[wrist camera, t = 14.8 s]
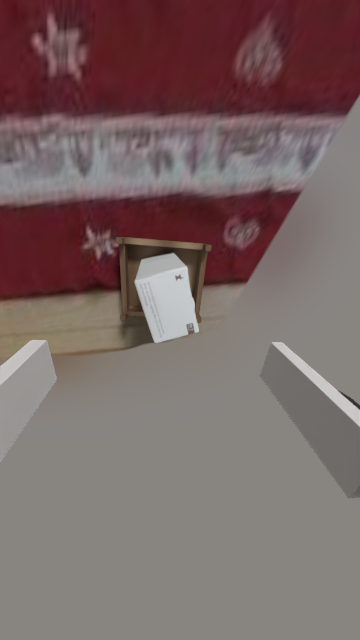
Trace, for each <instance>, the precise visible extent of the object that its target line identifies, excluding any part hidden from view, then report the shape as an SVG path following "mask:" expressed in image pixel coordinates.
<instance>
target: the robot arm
mask: <svg viewBox="0 0 360 640" xmlns="http://www.w3.org/2000/svg"><path fill="white" fill-rule="evenodd" d="M260 377H261V378H262V380H263V381H264V383H265V384H266V385H267V387H268V388H269V389H270V390H271V392H272V394H273V395H274V396H275V398H276V399H277V401H278V402H279V403H280V405H281V406H282V407H283V409H284V410H285V412H286V413H287V414H288V415H289V417H290V419H291V420H292V421H293V422H294V424H295V425H296V427H297V428H298V429H299V431H300V432H301V434H302V435H303V436H304V438H305V439H306V441H307V442H308V443H309V445H310V446H311V448H312V449H313V450H314V452H315V453H316V454H317V456H318V457H319V459H320V460H321V461H322V463H323V464H324V466H325V467H326V468H327V470H328V471H329V472H330V474H331V475H332V477H333V478H334V479H335V481H336V482H337V484H338V485H339V486H340V488H341V489H342V490H343V492H344V493H345V495H346V496H347V497H348V498H357V497H360V405H359V404H357V403H356V402H355V401H354V400H353V399H351V398H350V397H348V396H346V395H345V394H343V393H342V392H340V391H338V390H336V389H335V388H334V387H333V386H332V385H330V384H329V383H328V382H327V381H326V380H325V379H324V378H322V377H321V376H320V375H319V374H318V373H317V372H315V371H314V370H313V369H312V368H311V367H310V366H309V365H307V364H306V363H305V362H304V361H303V360H302V359H300V358H299V357H298V356H297V355H296V354H295V353H294V352H292V351H291V350H290V349H289V348H288V347H287V346H286V345H284V344H283V343H281V342H271V344H270V347H269V350H268V353H267V356H266V359H265V362H264V365H263V368H262V371H261V374H260ZM56 380H57V378H56V374H55V370H54V366H53V362H52V358H51V354H50V350H49V346H48V342H47V340H31V341H30V342H29V343H27V344H26V345H25V346H24V347H23V348H21V349H20V350H19V351H18V352H17V353H16V354H14V355H13V356H12V357H11V358H10V359H9V360H7V361H6V362H5V363H4V364H3V365H2V366H0V462H1V461H2V459H3V458H4V456H5V455H6V453H7V452H8V451H9V449H10V448H11V446H12V445H13V443H14V442H15V440H16V439H17V437H18V436H19V434H20V433H21V432H22V430H23V429H24V427H25V426H26V424H27V423H28V421H29V420H30V418H31V417H32V415H33V414H34V412H35V411H36V410H37V408H38V406H39V405H40V404H41V402H42V401H43V399H44V398H45V396H46V395H47V393H48V392H49V390H50V389H51V388H52V386H53V385H54V383H55V382H56Z"/></svg>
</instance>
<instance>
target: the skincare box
mask: <svg viewBox="0 0 360 640" xmlns="http://www.w3.org/2000/svg"><path fill="white" fill-rule="evenodd" d="M134 283H135V286H136V289H137V293H138V296H139V299H140V302H141V305H142V308H143V311H144V314H145V317H146V320H147V323H148V326H149V329H150V332H151V335H152V338H153V340H154V343H159V342H163V341H167V340H170V339H174V338H178V337H182V336H185V335H189V334H192V333H197V332H199V329H198V324H197V319H196V314H195V303H194V299H193V297H192V294H191V289H190V283H189V275H188V268H187V266H186V265H185V264H184V263H183V262H182V261H181V260H180V259H179V258H178V257H177V256H176V255H175V254H174V252H170V253H166V254H162V255H157V256H153V257H149V258H145V259H142V260H141V263H140V266H139V269H138V272H137V276H136V279H135V281H134Z"/></svg>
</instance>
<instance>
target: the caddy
mask: <svg viewBox="0 0 360 640" xmlns="http://www.w3.org/2000/svg"><path fill="white" fill-rule="evenodd" d="M116 244H119V253H120V272H121V292H122V314H121V316H120V319H121V320H122V321H126V318H127V316H145V314H144V311H143V308H142V305H141V302H140V299H139V296H138V293H137V289H136V286H135V283H134V281H135V279H136V276H137V272H138V269H139V266H140V263H141V260H142V259H145V258H149V257H153V256H157V255H162V254H166V253H170V252H174V254H175V255H176V256H177V257H178V258H179V259H180V260H181V261H182V262H183V263H184V264H185V265H186V266H187V268H188V275H189V283H190V289H191V294H192V297H193V299H194V303H195V314H196V319H197V323H201V317H200V315H199V311H200V304H201V296H202V289H203V281H204V273H205V266H206V258H207V251H211V246H212V245H207V244H201V243H189V242H177V241H165V240H153V239H141V238H129V237H116Z"/></svg>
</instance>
